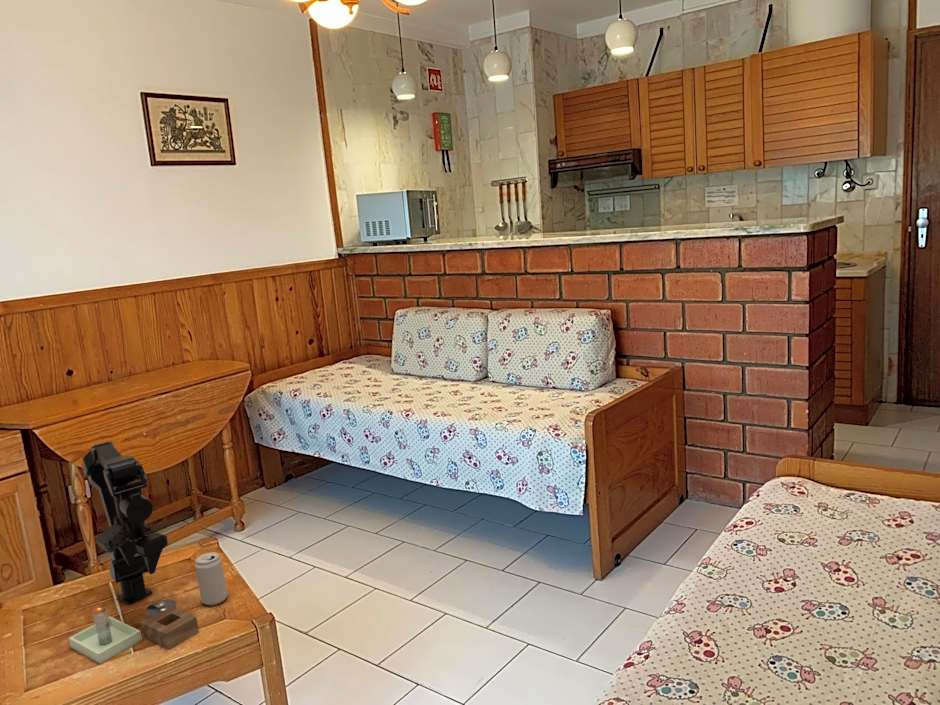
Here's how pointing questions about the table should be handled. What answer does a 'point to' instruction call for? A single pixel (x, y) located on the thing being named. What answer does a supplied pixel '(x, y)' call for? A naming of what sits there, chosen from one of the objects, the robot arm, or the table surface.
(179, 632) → the block
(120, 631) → the tray
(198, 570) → the beverage can
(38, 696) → the table surface
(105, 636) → the pin
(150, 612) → the dark grey knobbed lid
